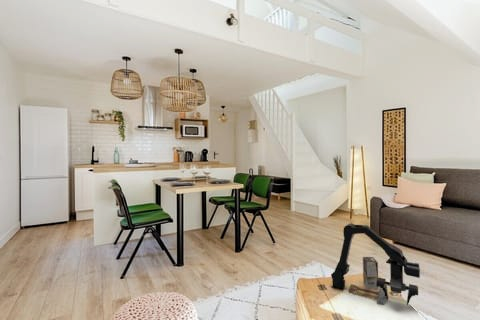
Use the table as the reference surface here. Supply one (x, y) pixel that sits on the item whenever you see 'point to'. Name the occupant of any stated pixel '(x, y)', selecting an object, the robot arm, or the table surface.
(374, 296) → the bar
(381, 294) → the grey bracket bar
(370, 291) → the base
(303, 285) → the table surface
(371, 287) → the coffee box
